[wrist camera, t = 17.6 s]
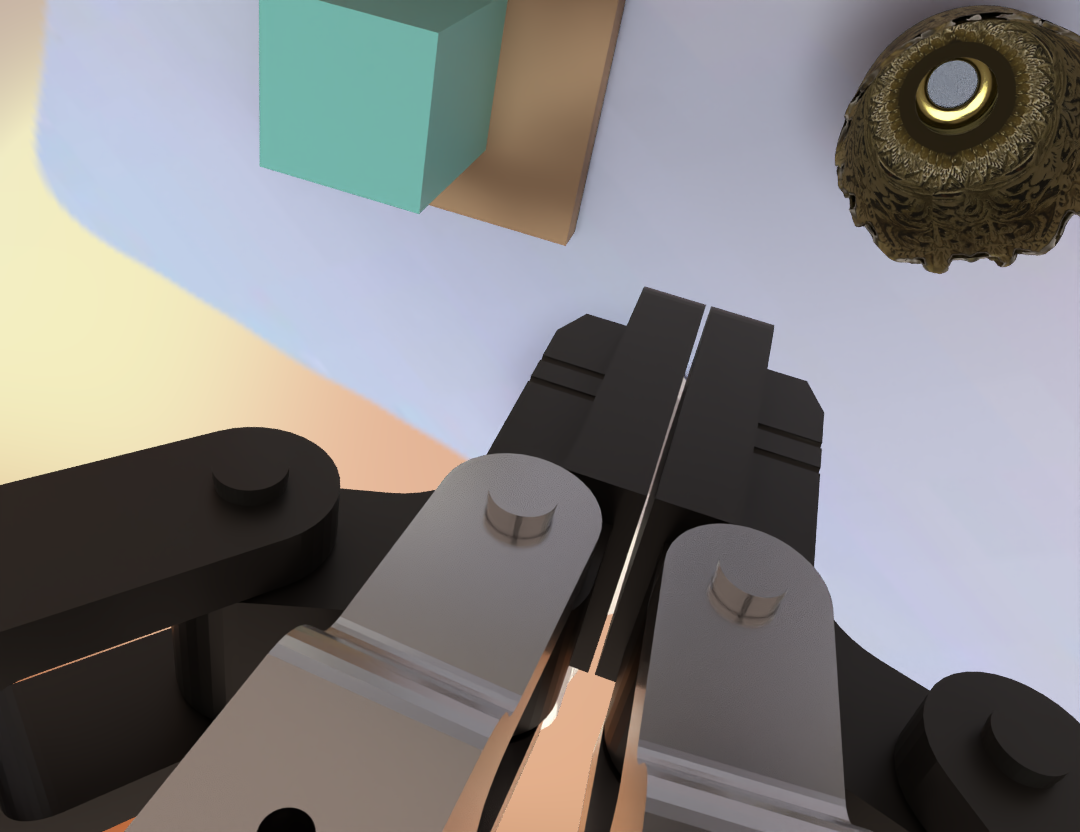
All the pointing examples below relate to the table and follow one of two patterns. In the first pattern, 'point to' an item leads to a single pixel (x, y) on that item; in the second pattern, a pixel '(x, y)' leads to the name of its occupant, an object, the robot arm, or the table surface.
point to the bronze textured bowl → (967, 141)
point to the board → (541, 118)
